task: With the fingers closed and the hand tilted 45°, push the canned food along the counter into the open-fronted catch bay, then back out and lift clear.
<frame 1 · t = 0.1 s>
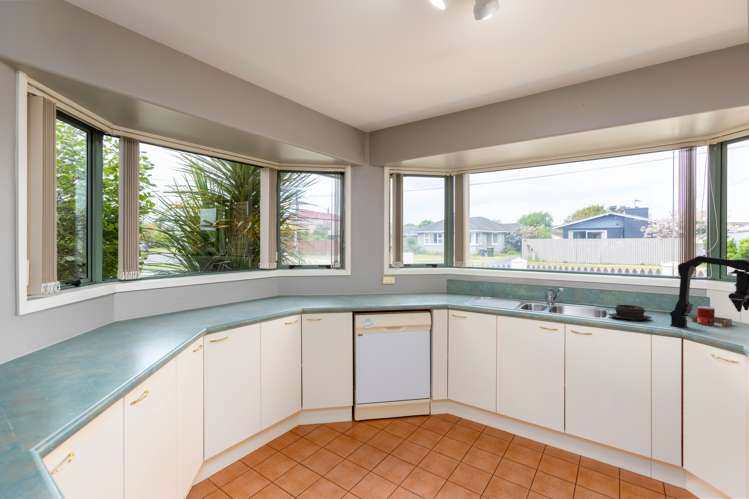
hand: (742, 311, 189), 15 cm above the worktop, tool pointing down, fingers open, 9 cm apart
casserole: (629, 319, 236), on the worktop
catch bay: (710, 323, 223), on the worktop
canned food: (705, 324, 220), on the worktop
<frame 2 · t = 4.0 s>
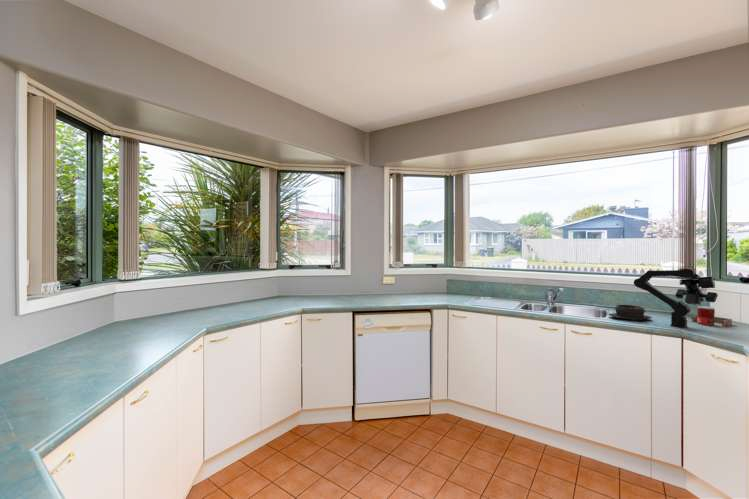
hand: (699, 304, 216), 14 cm above the worktop, tool tilted 45°, fingers closed
nothing on the worktop moved.
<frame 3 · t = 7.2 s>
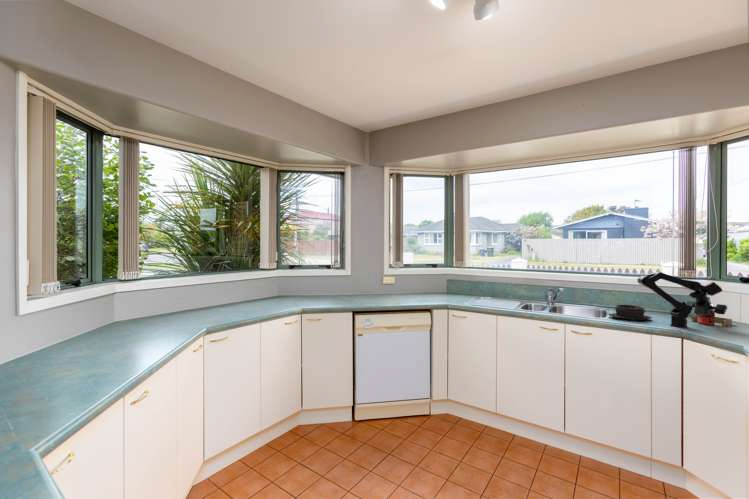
hand: (709, 317, 216), 5 cm above the worktop, tool tilted 40°, fingers closed
canned food: (705, 324, 220), on the worktop, touching gripper
everything else where it was.
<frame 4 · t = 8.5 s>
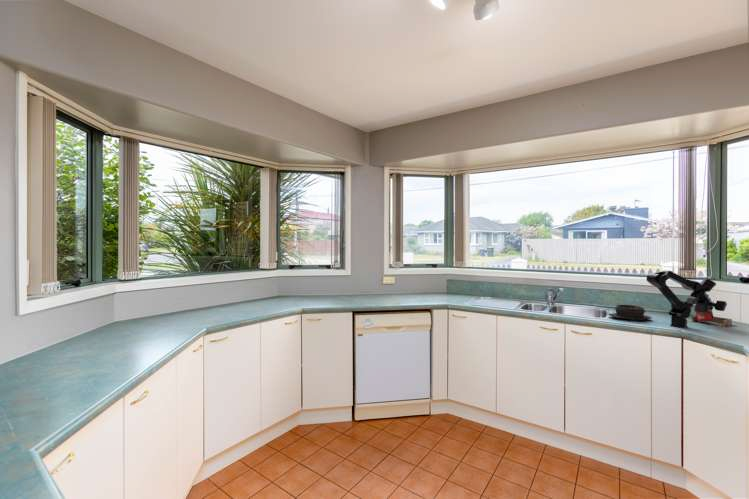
hand: (709, 312, 221), 8 cm above the worktop, tool tilted 45°, fingers closed
canned food: (706, 321, 223), point 1 cm above the worktop, touching gripper
everything else where it was.
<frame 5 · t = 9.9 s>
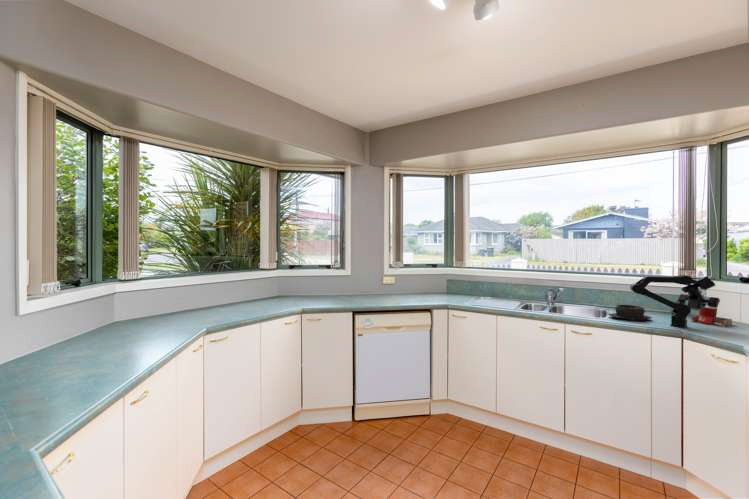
hand: (702, 309, 217), 10 cm above the worktop, tool tilted 45°, fingers closed
canned food: (706, 323, 223), on the worktop
everything else where it was.
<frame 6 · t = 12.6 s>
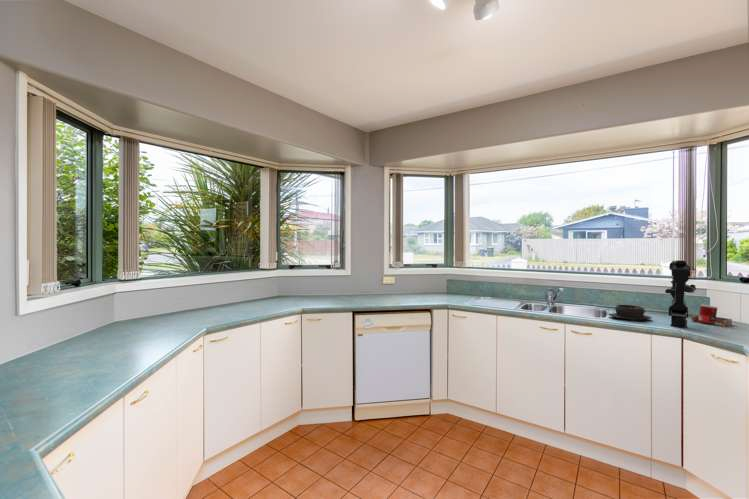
hand: (677, 303, 226), 12 cm above the worktop, tool pointing down, fingers closed
at the end: canned food 3.2 cm off-centre on the catch bay, point 0.1 cm above the catch bay's base; canned food tilted 5° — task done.
